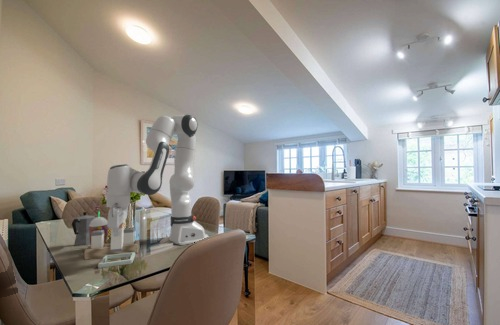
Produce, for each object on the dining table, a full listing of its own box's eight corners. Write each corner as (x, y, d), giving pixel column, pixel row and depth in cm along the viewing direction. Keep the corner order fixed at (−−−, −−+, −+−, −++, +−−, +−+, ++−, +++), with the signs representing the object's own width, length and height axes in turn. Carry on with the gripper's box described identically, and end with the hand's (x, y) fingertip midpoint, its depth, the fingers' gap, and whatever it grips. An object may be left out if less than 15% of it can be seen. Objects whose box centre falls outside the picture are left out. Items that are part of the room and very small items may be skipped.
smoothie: (90, 250, 116) (91, 210, 117) (109, 247, 119) (110, 209, 120) (86, 255, 108) (86, 213, 109) (106, 253, 112) (107, 212, 113)
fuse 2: (134, 249, 111) (134, 227, 112) (133, 252, 107) (133, 229, 108) (125, 251, 110) (125, 228, 110) (123, 253, 106) (123, 230, 106)
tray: (135, 258, 104) (135, 251, 104) (131, 267, 95) (131, 259, 95) (105, 262, 100) (105, 255, 100) (98, 271, 91) (98, 264, 91)
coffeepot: (84, 241, 131) (84, 210, 132) (100, 241, 131) (101, 209, 132) (62, 250, 116) (63, 215, 116) (81, 250, 116) (82, 214, 117)
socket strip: (139, 251, 113) (139, 240, 113) (137, 256, 107) (137, 244, 107) (89, 257, 106) (90, 245, 107) (84, 263, 100) (84, 250, 100)
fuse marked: (123, 248, 100) (124, 222, 100) (121, 251, 96) (122, 224, 97) (112, 248, 99) (113, 223, 99) (110, 252, 95) (111, 225, 95)
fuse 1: (104, 253, 107) (104, 229, 107) (101, 256, 103) (101, 232, 104) (93, 254, 106) (94, 230, 106) (90, 257, 102) (91, 232, 102)
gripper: (121, 204, 89) (120, 240, 89) (130, 199, 109) (130, 228, 108) (103, 205, 87) (102, 242, 87) (115, 199, 107) (114, 229, 106)
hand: (117, 234), depth 98 cm, fingers closed on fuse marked, 4 cm apart
